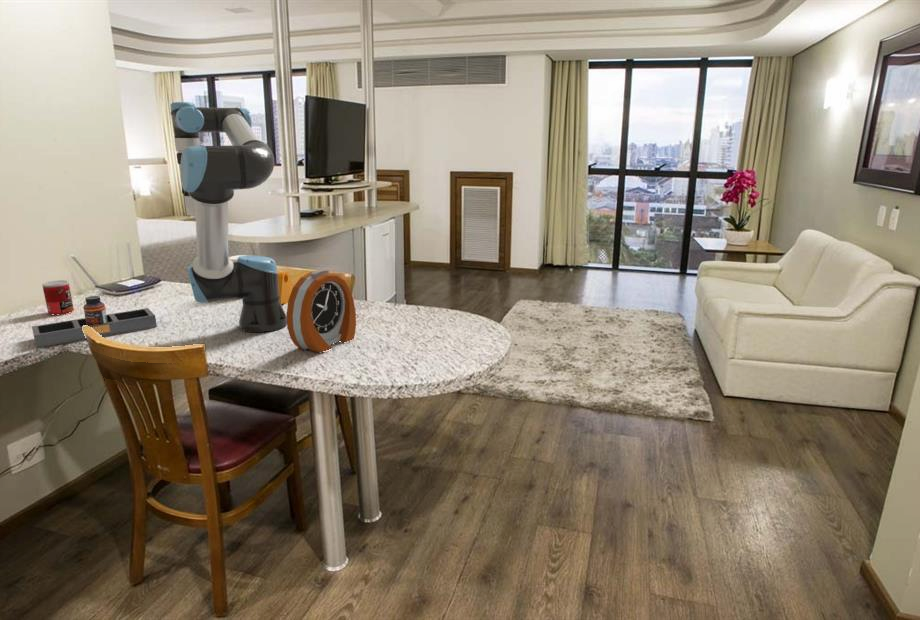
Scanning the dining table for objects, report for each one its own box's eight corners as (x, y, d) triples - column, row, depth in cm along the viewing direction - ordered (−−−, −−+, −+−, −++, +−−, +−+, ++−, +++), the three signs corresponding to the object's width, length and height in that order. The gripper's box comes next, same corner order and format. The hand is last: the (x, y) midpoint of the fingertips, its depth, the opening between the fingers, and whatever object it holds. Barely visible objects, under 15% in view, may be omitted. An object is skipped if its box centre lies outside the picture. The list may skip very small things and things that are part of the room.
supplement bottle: (85, 334, 189) (78, 300, 185) (90, 329, 194) (84, 295, 191) (106, 333, 190) (100, 298, 187) (111, 327, 196) (105, 294, 192)
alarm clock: (314, 357, 170) (308, 280, 164) (288, 352, 175) (281, 276, 168) (362, 335, 189) (358, 265, 182) (338, 330, 193) (333, 262, 187)
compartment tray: (157, 327, 197) (155, 315, 196) (36, 348, 178) (33, 335, 177) (149, 319, 206) (148, 308, 205) (34, 338, 187) (31, 326, 186)
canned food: (65, 315, 210) (59, 285, 207) (43, 315, 210) (36, 285, 207) (79, 309, 218) (73, 280, 215) (57, 309, 218) (51, 280, 215)
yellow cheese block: (277, 298, 232) (274, 267, 229) (294, 298, 231) (291, 268, 227) (263, 305, 222) (260, 274, 218) (281, 306, 221) (278, 274, 217)
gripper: (212, 151, 189) (219, 219, 195) (190, 151, 208) (197, 213, 214) (187, 152, 185) (195, 221, 190) (167, 152, 204) (175, 214, 209)
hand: (196, 216), depth 202 cm, fingers open, 13 cm apart
